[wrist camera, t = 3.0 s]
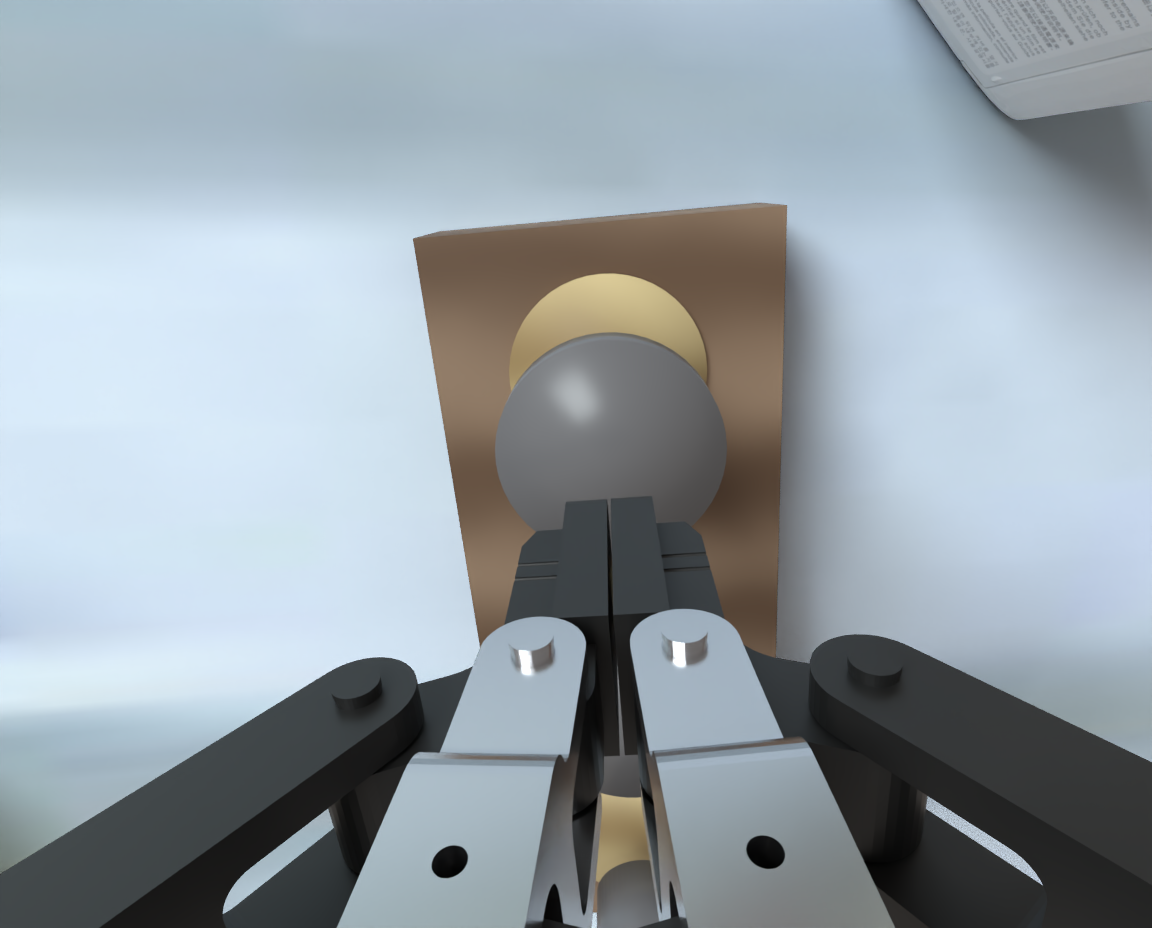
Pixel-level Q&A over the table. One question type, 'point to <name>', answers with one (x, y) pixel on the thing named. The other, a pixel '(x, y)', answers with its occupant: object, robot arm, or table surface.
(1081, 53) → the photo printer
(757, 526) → the mount board
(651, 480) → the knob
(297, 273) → the table surface
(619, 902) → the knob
